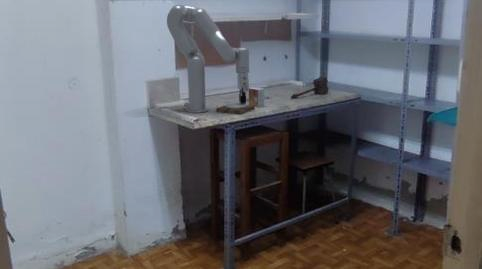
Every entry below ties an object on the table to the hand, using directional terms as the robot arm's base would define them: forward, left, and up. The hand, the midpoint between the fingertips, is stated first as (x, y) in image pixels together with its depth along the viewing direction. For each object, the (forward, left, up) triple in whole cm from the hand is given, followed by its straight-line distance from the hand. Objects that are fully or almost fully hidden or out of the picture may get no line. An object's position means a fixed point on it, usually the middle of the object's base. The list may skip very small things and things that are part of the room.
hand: (242, 101), depth 283 cm
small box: (+1, +16, -5) cm, 16 cm away
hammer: (+17, +60, -5) cm, 63 cm away
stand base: (-3, -3, -5) cm, 6 cm away
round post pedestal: (-3, -3, -3) cm, 5 cm away
